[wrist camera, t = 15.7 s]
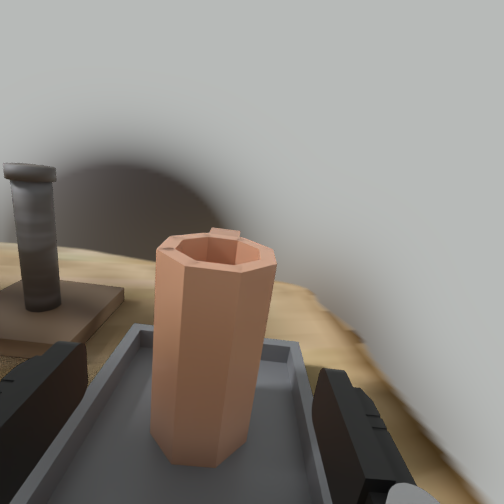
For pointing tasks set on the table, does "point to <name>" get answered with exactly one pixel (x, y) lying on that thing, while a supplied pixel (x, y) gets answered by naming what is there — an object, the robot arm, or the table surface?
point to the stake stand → (45, 276)
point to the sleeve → (207, 343)
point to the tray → (154, 460)
